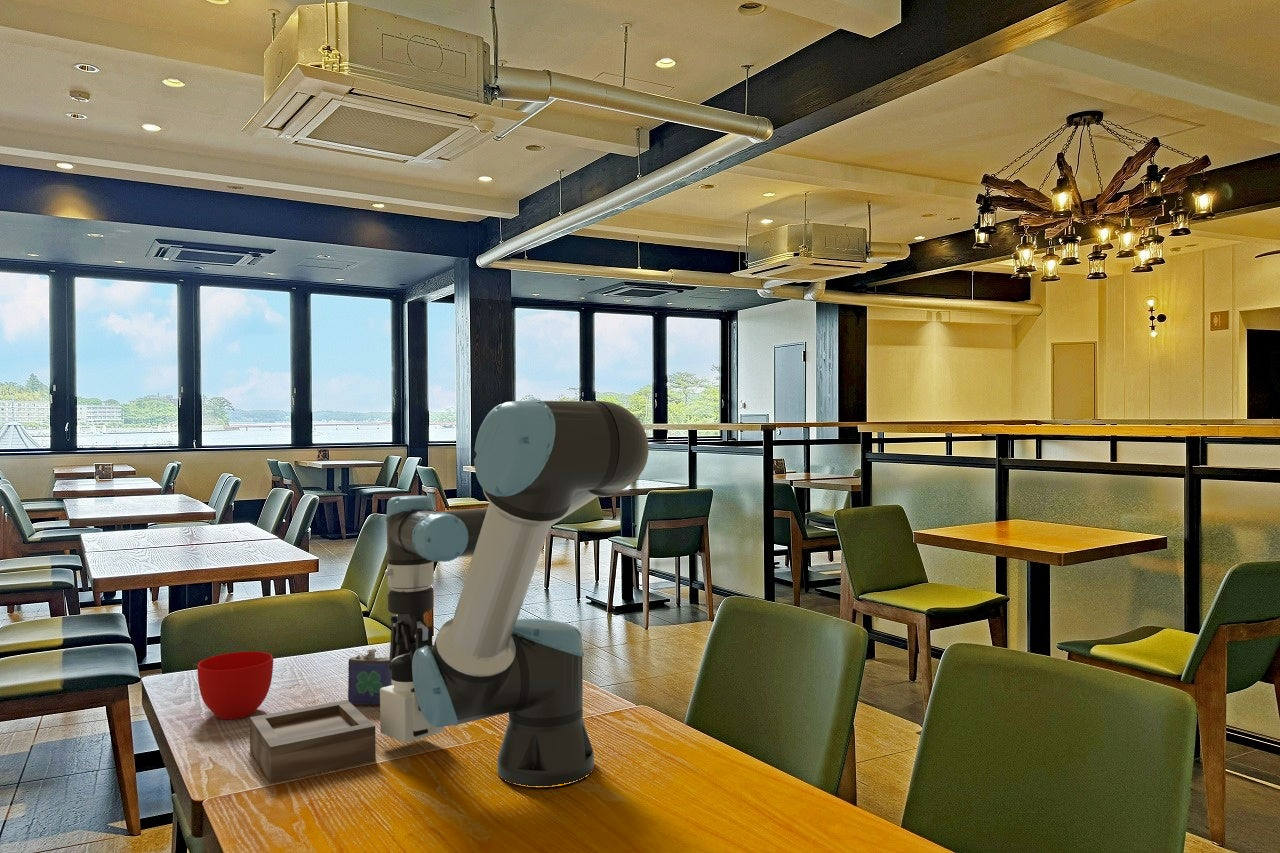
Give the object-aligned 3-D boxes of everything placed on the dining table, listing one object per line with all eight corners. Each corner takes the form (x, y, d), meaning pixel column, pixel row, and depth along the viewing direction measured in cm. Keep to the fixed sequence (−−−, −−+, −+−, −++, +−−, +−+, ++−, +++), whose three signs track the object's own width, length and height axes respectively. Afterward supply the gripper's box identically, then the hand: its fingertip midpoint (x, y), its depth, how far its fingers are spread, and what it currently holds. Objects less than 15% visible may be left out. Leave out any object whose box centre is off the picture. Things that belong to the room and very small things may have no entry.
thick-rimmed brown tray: (375, 759, 142) (375, 726, 142) (270, 783, 133) (270, 747, 133) (347, 730, 156) (347, 699, 156) (250, 750, 147) (249, 717, 147)
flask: (397, 702, 171) (397, 647, 171) (392, 707, 168) (392, 651, 168) (350, 701, 172) (350, 647, 172) (345, 706, 169) (344, 651, 169)
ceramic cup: (250, 693, 177) (249, 644, 177) (284, 713, 165) (284, 660, 165) (180, 708, 168) (180, 656, 168) (211, 731, 156) (211, 674, 156)
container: (444, 732, 149) (443, 655, 149) (404, 744, 143) (403, 664, 143) (419, 721, 154) (418, 647, 154) (379, 733, 148) (378, 656, 148)
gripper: (369, 581, 155) (370, 709, 155) (410, 599, 138) (412, 744, 137) (410, 576, 159) (411, 701, 159) (456, 594, 142) (457, 734, 142)
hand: (412, 721), depth 148 cm, fingers closed on container, 9 cm apart
